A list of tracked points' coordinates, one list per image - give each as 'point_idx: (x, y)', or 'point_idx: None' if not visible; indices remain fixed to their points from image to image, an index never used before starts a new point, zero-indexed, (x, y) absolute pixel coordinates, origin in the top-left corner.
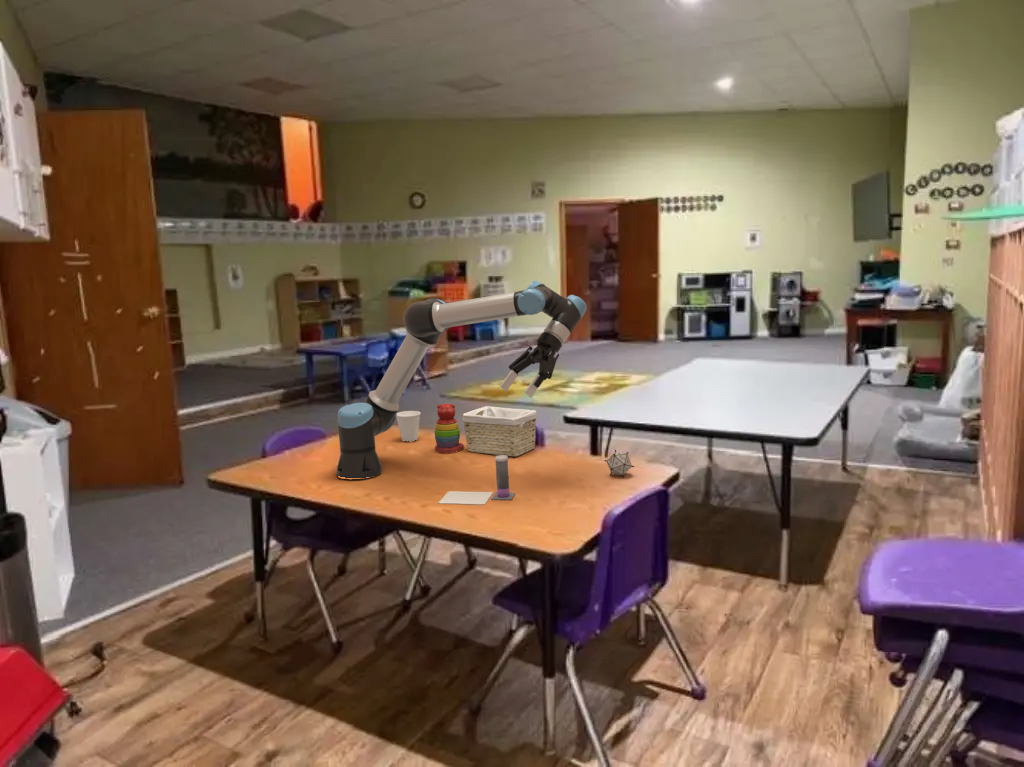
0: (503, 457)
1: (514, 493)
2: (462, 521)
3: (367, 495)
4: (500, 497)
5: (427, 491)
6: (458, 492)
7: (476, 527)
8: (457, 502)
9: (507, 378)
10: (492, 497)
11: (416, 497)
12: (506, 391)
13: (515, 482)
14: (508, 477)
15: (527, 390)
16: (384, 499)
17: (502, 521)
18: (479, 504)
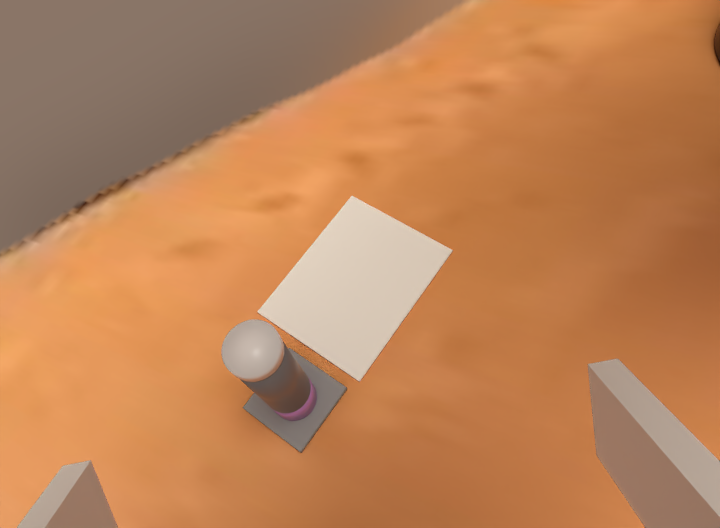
0: (231, 350)
1: (293, 445)
2: (171, 217)
3: (534, 51)
4: None
5: (492, 195)
6: (421, 274)
7: (108, 235)
8: (323, 244)
9: (655, 451)
10: (297, 355)
11: (446, 156)
12: (597, 455)
13: (444, 523)
14: (262, 399)
15: (52, 488)
16: (472, 82)
17: (97, 310)
18: (269, 298)
